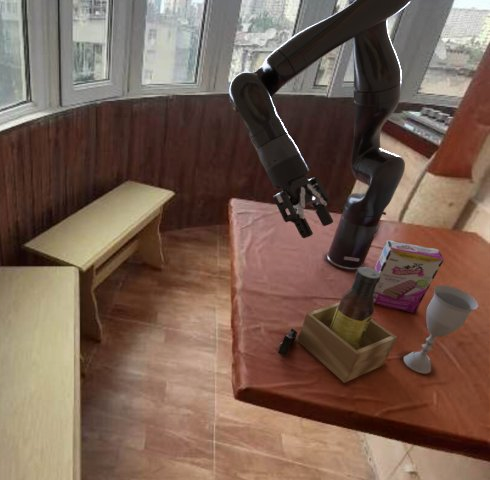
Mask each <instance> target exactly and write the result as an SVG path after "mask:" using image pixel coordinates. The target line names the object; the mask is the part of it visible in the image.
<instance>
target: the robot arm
mask: <svg viewBox="0 0 490 480" xmlns="http://www.w3.org/2000/svg"><path fill="white" fill-rule="evenodd" d="M411 2H412V0H348V5H347V6H346V7H344V8H343V9H341V10H339V11H338V12H336V13H334V14H333V15H331V16H328V17H327V18H325V19H322V20H320V21H319V22H316V23H315V24H312V25H311V26H308V27H306V28H304V29H303V30H301V31H299V32H298V33H296V34H294V35H293V36H291V37H290V38H289V39H287V41H285V42H284V43H283V44H281V45H280V46H278V48H276V49H275V50H273V51H272V52H271V53H270V54H269V55H267V57H265V60H264V61H263V64H262V65H260V67H259V68H258V69H256V70H255V71H254V72H252V71H242V72H239V73H238V74H237V75H236V76H235V77H233V79H232V80H231V82H230V84H229V90H228V94H229V103H230V106H231V108H232V109H233V110H234V112H236V113H237V114H240V116H241V118H242V120H243V122H244V124H245V126H246V127H245V128H246V131H247V134H248V136H249V137H248V138H249V140H250V141H251V143H252V145H253V147H254V148H255V150H256V152H257V155H258V158H259V160H260V163H261V164H262V167H263V169H264V170H265V172H266V174H267V176H268V178H269V180H270V182H271V184H272V186H273V187H274V189H276V190H277V189H280V190H281V191H280V192H278V193H276V194H275V195H273V200H274V202H275V205H276V207H277V209H278V211H279V213H280V216H281V217H282V219H283V221H284V222H285V223H290V222H291V224H294V226H295V228H296V230H297V232H298V233H299V235H300V236H301V238H302V239H306V238H308V237H312V236H313V234H314V232H313V230H312V229H311V226H310V224H309V222H308V221H307V219H306V217H305V214H304V209H305V208H306V206H310V207H311V208H312V209H314V210H315V212H314V213H316V215H317V218H318V219H319V221H320V223H321V225H322V226H323V227H326V226H329V225H331V224H332V223H334V219H333V217H332V216H331V214H330V212H329V209H328V207H327V205H328V202H329V201H330V197H329V196H328V195H329V194H328V193H327V191H326V190H325V188H324V186H323V184H322V183H321V181H320V180H319V178H318V176H314V177H311V178H307V175H308V174H310V169H309V166H308V165H307V163H306V160H304V158H303V156H302V153H301V152H300V150H299V148H298V146H297V145H296V142H295V141H294V140H293V138H292V136H290V134H289V132H288V131H287V128H286V127H285V125H284V123H283V121H282V119H281V118H280V116H279V115H278V112H277V110H276V107H275V105H274V102H273V99H272V97H273V96H274V95H275V94H277V93H278V91H280V89H282V88H283V87H284V86H285V85H287V84H288V83H289V82H291V81H293V80H294V79H295V78H296V77H298V76H299V75H301V74H302V73H303V72H305V71H306V70H307V69H308V68H310V67H311V66H312V65H314V64H315V63H317V62H318V61H319V60H320V59H323V57H325V56H327V55H328V54H330V53H331V52H332V51H334V50H336V49H337V48H339V47H340V46H342V45H343V44H345V43H347V42H348V41H350V40H352V48H353V49H352V51H353V52H352V53H353V54H352V55H353V109H354V110H353V111H354V113H353V115H354V116H353V140H352V147H351V157H350V173H351V175H352V177H353V178H354V179H356V180H357V181H359V182H360V183H363V184H364V185H367V189H366V190H365V192H354V193H351V194H349V195H348V196H347V198H346V200H345V203H344V207H343V209H342V212H341V215H340V218H339V222H338V223H337V227H336V229H335V233H334V236H333V238H332V241H331V244H330V246H329V250H328V252H327V254H326V260H327V262H329V264H330V265H332V266H333V267H335V268H337V269H341V270H344V271H349V272H350V271H351V272H355V271H356V272H357V270H358V268H360V267H363V265H364V263H365V262H366V258H367V256H368V254H369V251H370V249H371V247H372V244H373V242H374V239H375V235H376V234H377V232H378V230H379V227H380V221H381V218H382V216H383V215H384V216H386V215H387V212H386V211H385V209H387V208H388V206H389V204H390V203H391V201H392V199H393V197H394V195H395V193H396V191H397V188H398V187H399V185H400V182H401V181H402V179H403V176H404V173H405V170H406V162H405V159H404V158H403V157H401V156H400V155H397V154H395V153H392V152H390V151H388V150H385V149H383V148H382V146H381V132H382V128H383V126H384V125H385V124H386V122H387V121H388V120H389V118H390V117H391V116H392V114H394V112H395V110H396V109H397V107H398V105H399V103H400V100H401V91H402V69H401V65H400V61H399V58H398V56H397V53H396V50H395V48H394V46H393V44H392V41H391V38H390V35H389V29H388V19H389V18H390V17H392V16H393V17H394V15H396V14H397V13H399V12H400V11H402V10H403V9H405V7H407V6H408V5H409V4H410V3H411ZM287 212H288V213H289V214H288V213H287Z"/></svg>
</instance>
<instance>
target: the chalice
mask: <svg viewBox="0 0 490 480" xmlns="http://www.w3.org/2000/svg"><path fill="white" fill-rule="evenodd" d="M477 308H479V303H478V302H477V300H476V299H475V298H474V297H473V296H472V295H471V294H469V293H467V292H465V291H464V290H461V289H460V288H457V287H454V286H449V285H443V284H441V285H436V286H435V287H434V288H433V297H432V298H431V300H430V301H429V303H428V306H427V308H426V311H425V312H426V313H425V321H426V322H425V323H426V329H427V331H428V333H430V334H429V336H428V337H426V338H425V340H426V341H425V343H422V344H421V347H422V348H421V351H419V350H418V351H417V350H416V351H415V350H414V351H411V352H410V353H408V354H406V355H404V356H403V362H404V364H405V365H406V366H407V367H408V368H409V369H411V370H412V371H415V372H416V373H420V374H424V375H425V374H430V373H431V372H432V361H431V358H430V357H429V355H428V354H427V353H428V352H430V351H432V350H433V348H432V345H434V344H436V338H437V337H438V338H444V337H445V336H447V335H449V334H452V333H454V332H455V331H456V330H459V329H461V327H462V326H463V325H464V324H465V322H466V320H467V319H468V317H469V316H470V314H471V312H472V311H475V310H476V309H477Z"/></svg>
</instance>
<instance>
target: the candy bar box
mask: <svg viewBox="0 0 490 480" xmlns="http://www.w3.org/2000/svg"><path fill="white" fill-rule="evenodd" d="M444 261H445V258H444V256H443V254H442V253H441V252H440V250H439V249H437V248H433V247H428V246H423V245H418V244H417V245H416V244H412V243H407V242H401V241H397V240H391V239H387V240H386V242H385V243H384V246H383V248H382V251H381V252H380V255H379V257H378V260H377V262H376V263H375V266H374V268H373V269H374V270H376V271H377V272H379V273H380V280H379V282H378V283H377V284H376V287H375V290H374V293H373V298H374V305H376V306H381V307H385V308H389V309H394V310H399V311H403V312H407V313H412V314H415V313H416V312H417V311H418V308H419V306H420V304H421V303H422V301H423V299H424V297H425V295H426V293H427V292H428V291H429V288H430V287H431V284H432V283H433V281H434V279H435V277H436V276H437V274H438V272H439V270H440V268H441V265H442V264H443V262H444Z"/></svg>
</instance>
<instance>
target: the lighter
mask: <svg viewBox="0 0 490 480" xmlns="http://www.w3.org/2000/svg"><path fill="white" fill-rule="evenodd" d="M298 333H299V331H296V330H295V329H293V328H291V329H289V331H288V333H287V334H285V335H284V337H283V340H282V342H279V344H278V345H277V348H278V352H277V353H278V354H279V355H281V356H283V357H285V356H286V355H288V353H289V351H290V348H291V347H292V346H293V345H294V343H295V341H296V338H297V337H298Z"/></svg>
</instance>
